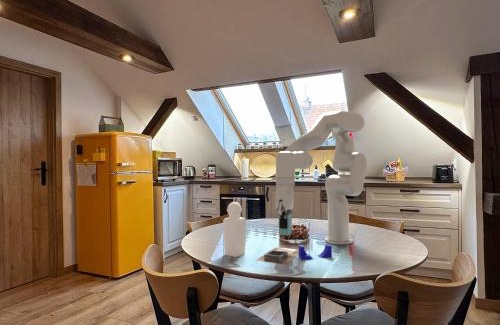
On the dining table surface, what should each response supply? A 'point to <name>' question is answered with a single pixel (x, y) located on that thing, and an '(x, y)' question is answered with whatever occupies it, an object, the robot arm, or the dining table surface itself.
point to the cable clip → (324, 254)
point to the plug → (289, 225)
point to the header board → (279, 255)
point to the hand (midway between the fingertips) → (285, 226)
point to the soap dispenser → (234, 231)
